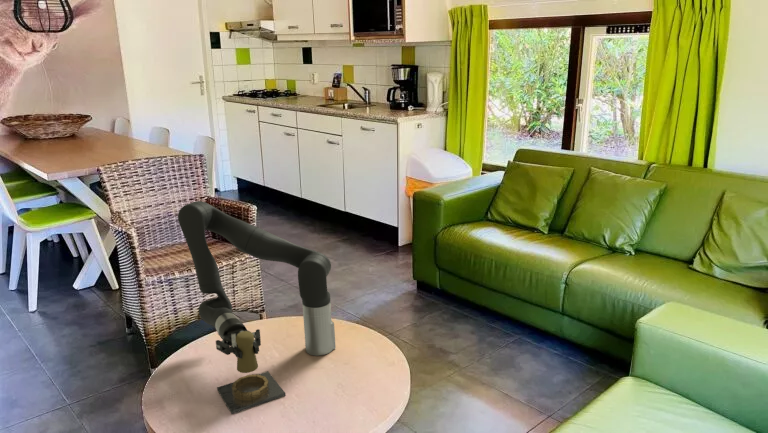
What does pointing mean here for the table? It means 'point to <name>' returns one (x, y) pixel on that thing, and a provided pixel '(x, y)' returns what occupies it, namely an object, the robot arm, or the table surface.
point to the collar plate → (250, 392)
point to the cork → (246, 352)
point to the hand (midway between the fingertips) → (249, 353)
